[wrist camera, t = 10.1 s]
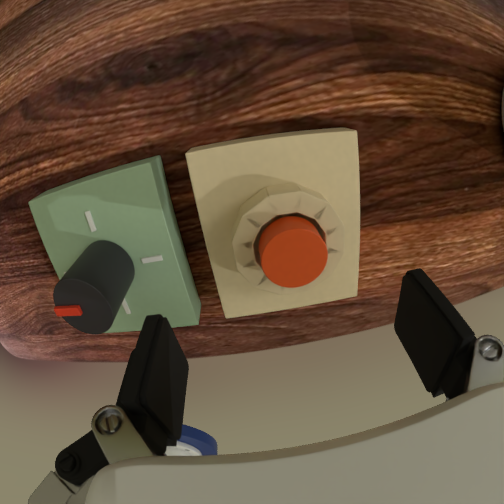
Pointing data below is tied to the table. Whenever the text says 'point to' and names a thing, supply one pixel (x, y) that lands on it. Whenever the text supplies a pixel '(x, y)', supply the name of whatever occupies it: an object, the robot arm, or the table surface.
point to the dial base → (124, 238)
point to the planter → (503, 109)
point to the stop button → (292, 252)
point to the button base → (278, 212)
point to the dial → (94, 287)
